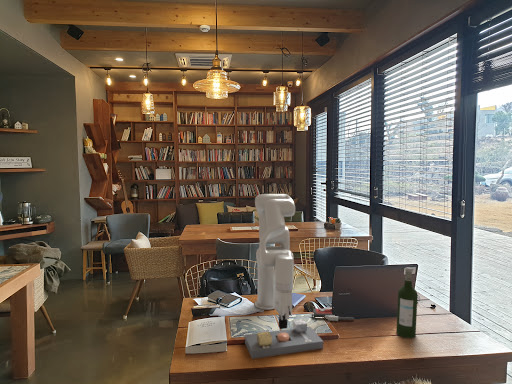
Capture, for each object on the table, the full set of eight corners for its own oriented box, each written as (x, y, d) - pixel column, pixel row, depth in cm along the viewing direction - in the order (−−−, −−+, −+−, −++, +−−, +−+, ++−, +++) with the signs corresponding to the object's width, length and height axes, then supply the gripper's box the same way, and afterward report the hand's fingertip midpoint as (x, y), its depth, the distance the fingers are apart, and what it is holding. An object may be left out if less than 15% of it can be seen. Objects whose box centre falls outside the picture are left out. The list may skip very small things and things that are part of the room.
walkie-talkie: (312, 321, 165) (354, 322, 165) (312, 312, 165) (354, 313, 165) (310, 313, 174) (350, 314, 174) (310, 305, 174) (350, 305, 173)
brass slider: (256, 341, 139) (256, 332, 139) (268, 339, 141) (268, 331, 140) (259, 346, 135) (259, 337, 135) (271, 344, 137) (271, 336, 136)
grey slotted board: (244, 341, 145) (244, 334, 145) (309, 333, 153) (310, 326, 153) (252, 358, 133) (252, 350, 133) (323, 348, 141) (323, 340, 141)
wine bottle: (413, 331, 156) (416, 266, 153) (417, 339, 148) (420, 271, 146) (395, 328, 158) (397, 264, 155) (397, 337, 150) (400, 270, 148)
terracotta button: (275, 339, 145) (275, 333, 144) (286, 338, 146) (286, 332, 146) (279, 345, 140) (279, 339, 140) (290, 343, 141) (290, 337, 141)
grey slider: (292, 328, 150) (292, 320, 150) (303, 326, 152) (303, 319, 151) (296, 332, 146) (296, 324, 146) (306, 331, 148) (307, 323, 148)
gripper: (269, 279, 147) (268, 320, 149) (281, 293, 133) (280, 338, 135) (286, 278, 149) (285, 318, 151) (299, 291, 135) (298, 335, 137)
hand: (282, 327), depth 143 cm, fingers closed
